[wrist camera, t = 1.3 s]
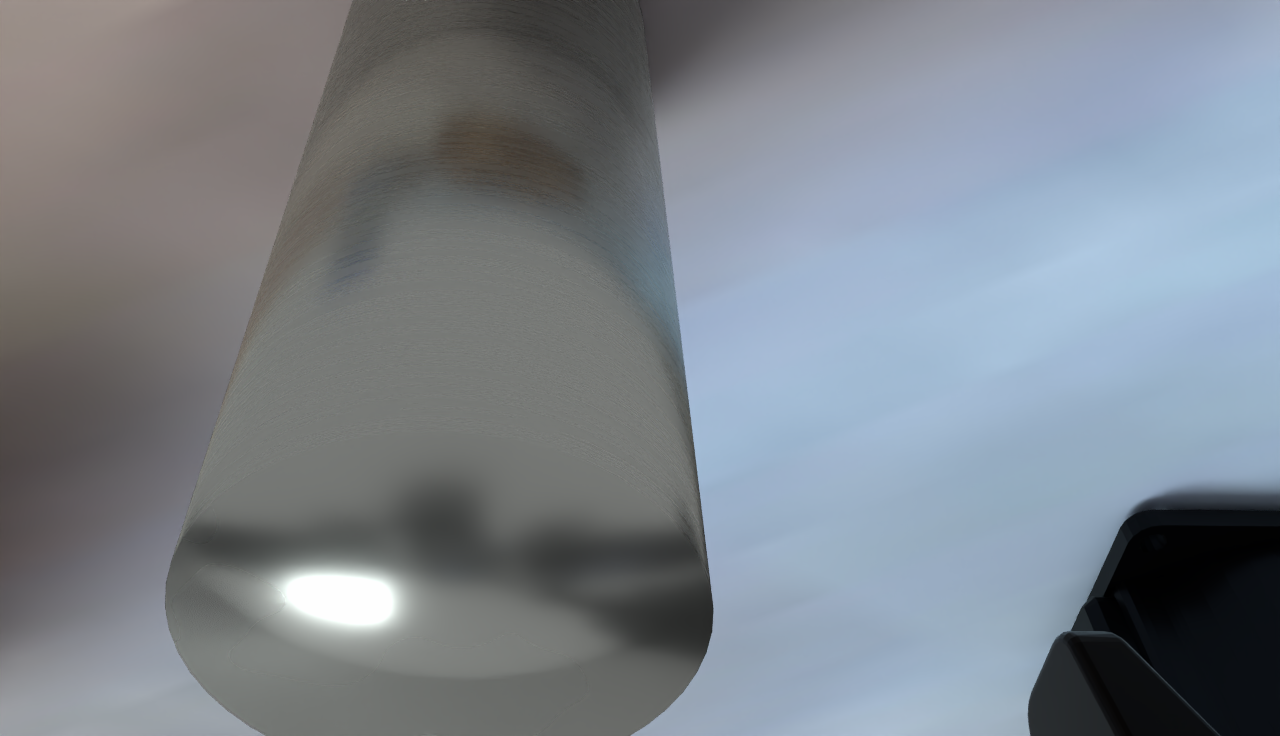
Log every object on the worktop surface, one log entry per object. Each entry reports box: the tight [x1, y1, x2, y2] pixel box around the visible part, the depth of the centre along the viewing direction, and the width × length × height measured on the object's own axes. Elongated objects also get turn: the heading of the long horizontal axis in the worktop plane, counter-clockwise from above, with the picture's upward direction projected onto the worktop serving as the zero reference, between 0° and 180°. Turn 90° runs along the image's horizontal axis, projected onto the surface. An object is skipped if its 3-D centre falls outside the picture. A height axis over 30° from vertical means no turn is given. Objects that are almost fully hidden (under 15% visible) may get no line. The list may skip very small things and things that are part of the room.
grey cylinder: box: [165, 0, 713, 736], centre depth 13 cm, size 4×4×10 cm
